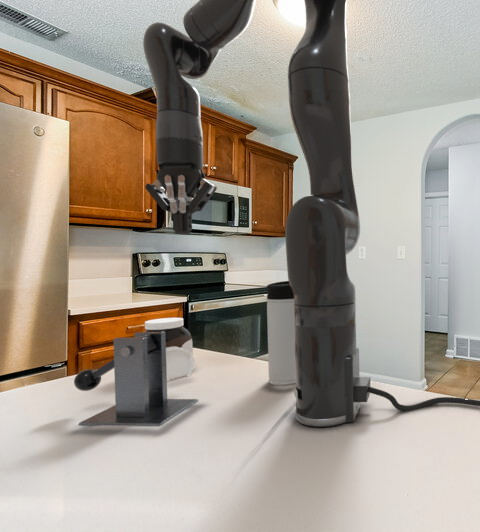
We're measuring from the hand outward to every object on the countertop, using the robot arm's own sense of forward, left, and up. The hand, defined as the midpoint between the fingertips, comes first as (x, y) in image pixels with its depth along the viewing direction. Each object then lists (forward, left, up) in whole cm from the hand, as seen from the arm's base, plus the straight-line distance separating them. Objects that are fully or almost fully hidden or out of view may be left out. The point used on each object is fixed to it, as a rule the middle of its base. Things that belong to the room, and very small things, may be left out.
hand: (182, 234), depth 70 cm
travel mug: (-19, -1, -29) cm, 35 cm away
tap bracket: (-2, +14, -29) cm, 32 cm away
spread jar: (+7, -5, -29) cm, 30 cm away
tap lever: (+2, +14, -22) cm, 26 cm away
